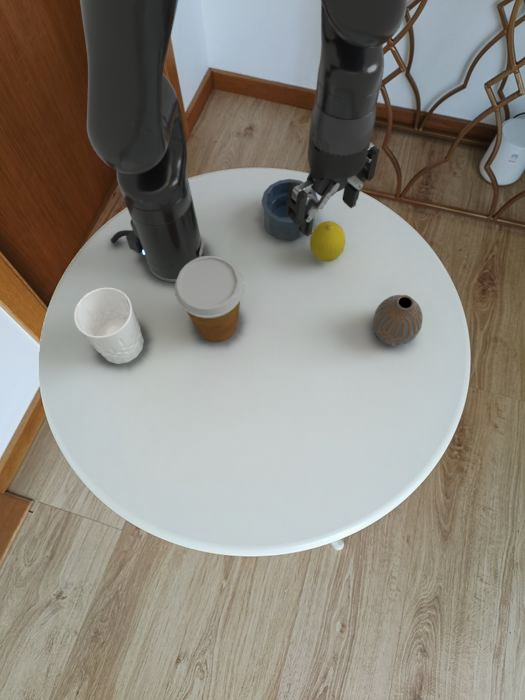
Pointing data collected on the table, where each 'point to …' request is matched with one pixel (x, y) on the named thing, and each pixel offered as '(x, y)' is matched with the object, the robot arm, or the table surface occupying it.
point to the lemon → (327, 241)
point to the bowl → (280, 210)
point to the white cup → (110, 324)
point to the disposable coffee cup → (211, 296)
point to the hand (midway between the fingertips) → (326, 217)
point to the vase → (398, 320)
